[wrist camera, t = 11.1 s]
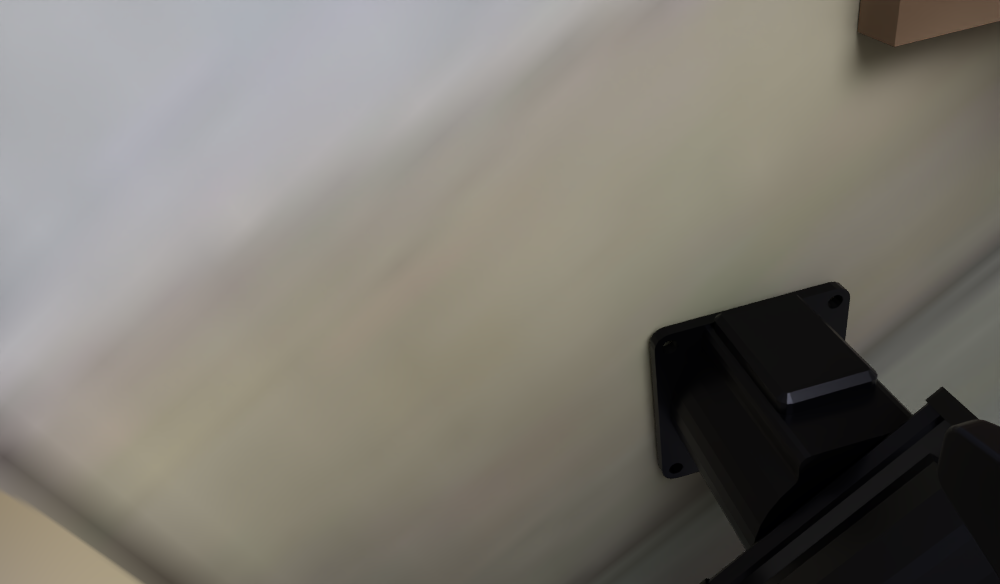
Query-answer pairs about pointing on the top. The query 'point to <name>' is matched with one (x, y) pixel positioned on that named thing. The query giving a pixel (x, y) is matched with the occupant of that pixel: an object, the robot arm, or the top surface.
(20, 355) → the top surface
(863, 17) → the board
